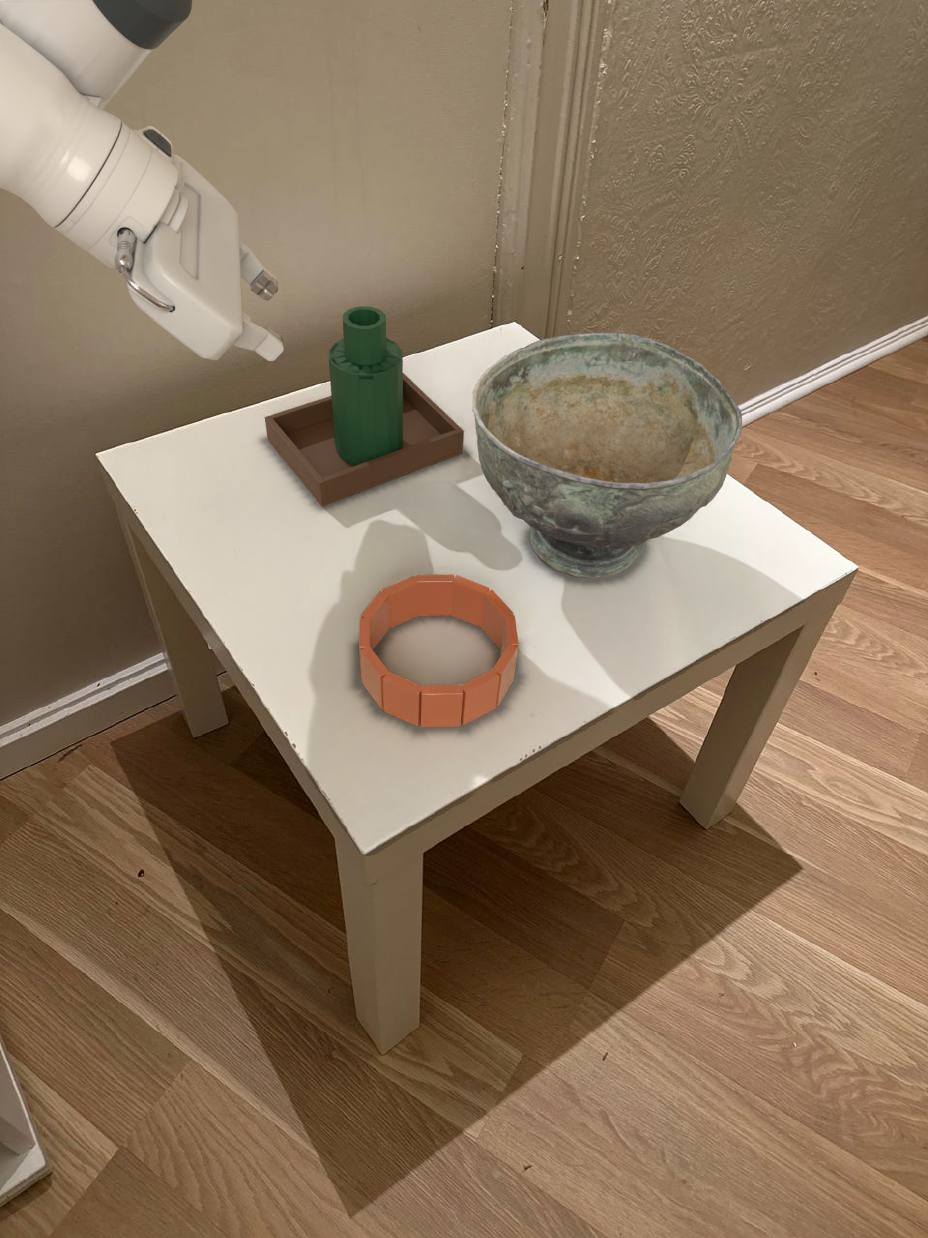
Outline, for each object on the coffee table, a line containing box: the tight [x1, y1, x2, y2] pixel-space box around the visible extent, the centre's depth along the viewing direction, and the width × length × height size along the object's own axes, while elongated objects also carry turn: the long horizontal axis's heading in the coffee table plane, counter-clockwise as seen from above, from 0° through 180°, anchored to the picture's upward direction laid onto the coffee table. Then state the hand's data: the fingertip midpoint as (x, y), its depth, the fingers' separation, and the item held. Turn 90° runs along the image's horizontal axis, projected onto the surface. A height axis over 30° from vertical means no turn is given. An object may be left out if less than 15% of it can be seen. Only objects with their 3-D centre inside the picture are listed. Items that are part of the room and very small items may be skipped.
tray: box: [264, 372, 465, 507], centre depth 85 cm, size 15×11×3 cm
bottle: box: [328, 305, 404, 466], centre depth 80 cm, size 6×6×14 cm
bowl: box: [471, 331, 743, 579], centre depth 73 cm, size 20×19×15 cm
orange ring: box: [358, 574, 520, 728], centre depth 67 cm, size 12×12×4 cm
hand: (275, 319), depth 73 cm, fingers open, 8 cm apart
